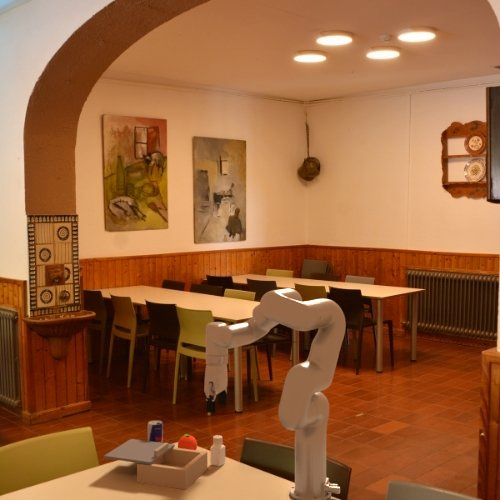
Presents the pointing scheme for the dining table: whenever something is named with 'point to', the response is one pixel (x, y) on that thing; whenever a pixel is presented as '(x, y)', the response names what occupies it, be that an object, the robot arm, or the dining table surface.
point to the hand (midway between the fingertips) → (216, 408)
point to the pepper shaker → (217, 451)
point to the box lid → (140, 451)
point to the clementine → (187, 442)
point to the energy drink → (155, 431)
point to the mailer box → (174, 468)
